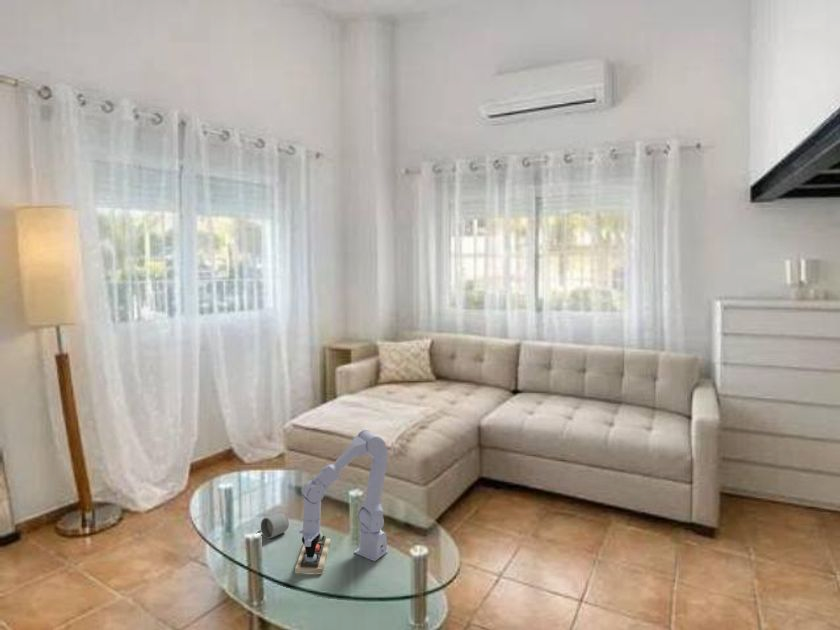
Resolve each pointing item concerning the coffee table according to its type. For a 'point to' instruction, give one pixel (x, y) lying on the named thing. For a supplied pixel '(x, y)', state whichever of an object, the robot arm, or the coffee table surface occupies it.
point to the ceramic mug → (274, 525)
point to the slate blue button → (311, 559)
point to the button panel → (321, 559)
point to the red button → (317, 548)
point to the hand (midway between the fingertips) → (310, 556)
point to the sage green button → (320, 537)
